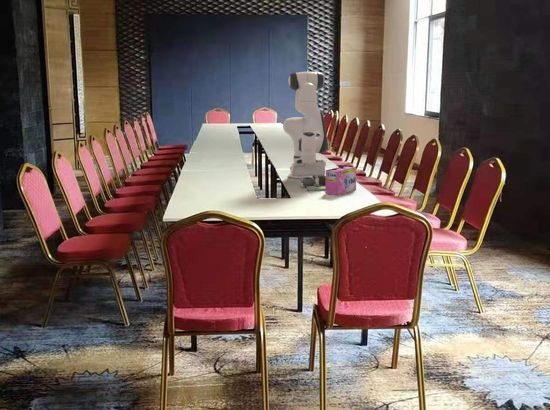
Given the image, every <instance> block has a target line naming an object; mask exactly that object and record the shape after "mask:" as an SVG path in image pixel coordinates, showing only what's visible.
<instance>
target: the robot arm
mask: <svg viewBox="0 0 550 410" xmlns="http://www.w3.org/2000/svg"><path fill="white" fill-rule="evenodd" d="M287 82H288V85H289V88H290V89H291V90H293V91H295V99H294V100H295V101H294V103H295V104H294V106H295V107H294V108H295V110H296V111H297V112H298V113H300V114H301V115H303V117H301V116H299V117H298V116H297V117H296V116H294V117H288V118H286V119H285V120H284V121H283V124H282V128H283V129H282V130H283V131H284V133H285V134H287V135H288V136H289V137H290V139H291V140H292V142H293V149H294V150H293V153H294V155H293V159H292V161H293V163H292V164H291V166H289V170H290V172H289V174H288V178H293V179H299V180H300V183H301V184H303V183H304V180H303V177H313V176H315V177H316V178H318V176H324V175H325V176H326V166H327V162H326V160H324V159H317V154H322V155H324V154H325V153H327V152H328V151H329V146H330V145H329V144H330V143H329V140H328V136H327V135H328V134H327V130H326V123H325V118H324V114H323V111H322V110H321V109H320V108H319V106H318V98H317V97H318V95H317V91H318V90H321V89H323V87H324V85H325V77H324V74H323V73H322V72H320V71H317V72H315V71H299V72H296V71H295V72H291V73H290V74H289V76H288V80H287ZM317 134H319V136H316V135H317ZM316 178H315V180H314V184H315V181H316Z"/></svg>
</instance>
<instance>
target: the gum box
mask: <svg viewBox="0 0 550 410" xmlns="http://www.w3.org/2000/svg"><path fill="white" fill-rule="evenodd" d="M325 176H326V186H325V191H324V192H325V193H324V194H325V195H329V194H330V195H332V196H340V195H342V194H346V193H349V192H353V191H355V190H357V166H354V167H353V166H348V165H342V166H341V165H340V166H338V167H334V168H330V169H329V168H328V169H325ZM330 195H329V196H330Z"/></svg>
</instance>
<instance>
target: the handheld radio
mask: <svg viewBox="0 0 550 410" xmlns="http://www.w3.org/2000/svg"><path fill="white" fill-rule="evenodd" d="M313 178H314V180H315V178H316V177H315V176H313ZM318 178H319V186H326V174H325V175H324V176H318Z"/></svg>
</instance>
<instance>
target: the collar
mask: <svg viewBox="0 0 550 410" xmlns="http://www.w3.org/2000/svg"><path fill="white" fill-rule="evenodd" d="M302 180H304V183H302V186H303V188H306V186H315V183H314V178H313V177H303V178H302Z"/></svg>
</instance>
